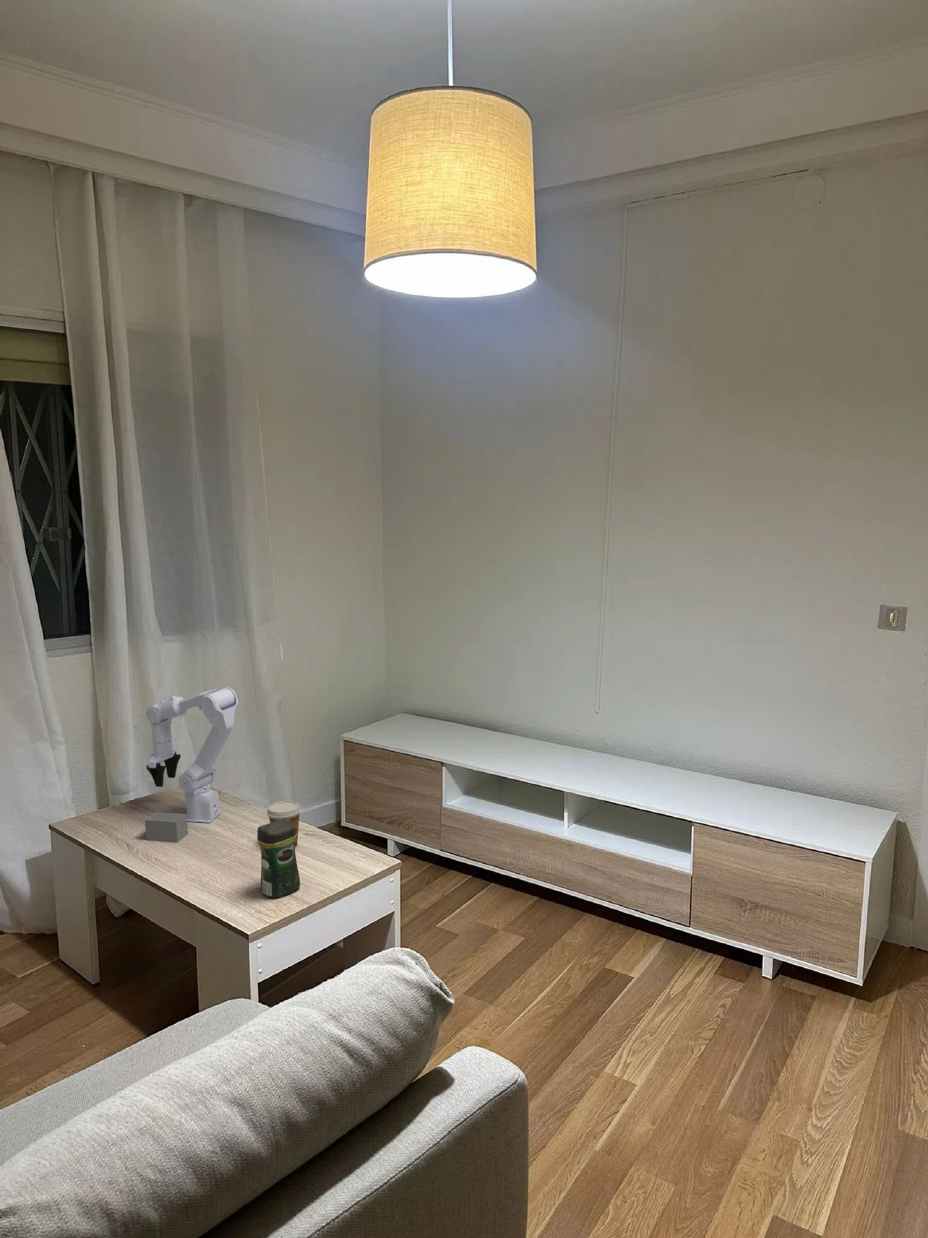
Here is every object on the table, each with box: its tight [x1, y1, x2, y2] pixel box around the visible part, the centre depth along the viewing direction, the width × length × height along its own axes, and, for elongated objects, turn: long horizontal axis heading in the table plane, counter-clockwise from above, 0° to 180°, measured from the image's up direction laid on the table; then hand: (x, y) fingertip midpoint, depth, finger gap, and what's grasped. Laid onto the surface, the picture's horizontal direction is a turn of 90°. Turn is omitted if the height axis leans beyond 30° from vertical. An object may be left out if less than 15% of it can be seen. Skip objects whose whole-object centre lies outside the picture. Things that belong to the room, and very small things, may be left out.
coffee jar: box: [256, 818, 301, 899], centre depth 228 cm, size 10×8×19 cm
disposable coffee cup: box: [266, 800, 302, 848], centre depth 254 cm, size 10×10×12 cm
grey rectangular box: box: [144, 811, 189, 843], centre depth 262 cm, size 10×6×6 cm, turn 78°
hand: (165, 781), depth 281 cm, fingers open, 7 cm apart
